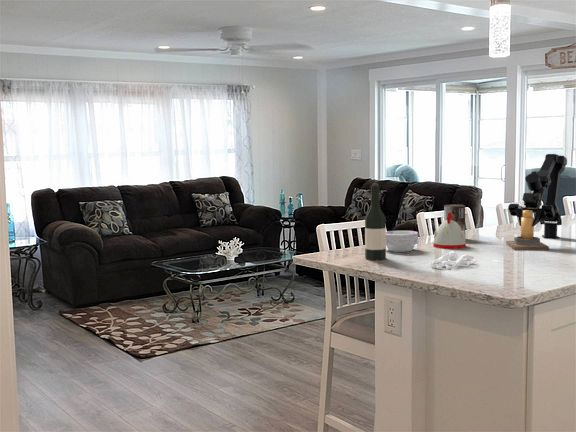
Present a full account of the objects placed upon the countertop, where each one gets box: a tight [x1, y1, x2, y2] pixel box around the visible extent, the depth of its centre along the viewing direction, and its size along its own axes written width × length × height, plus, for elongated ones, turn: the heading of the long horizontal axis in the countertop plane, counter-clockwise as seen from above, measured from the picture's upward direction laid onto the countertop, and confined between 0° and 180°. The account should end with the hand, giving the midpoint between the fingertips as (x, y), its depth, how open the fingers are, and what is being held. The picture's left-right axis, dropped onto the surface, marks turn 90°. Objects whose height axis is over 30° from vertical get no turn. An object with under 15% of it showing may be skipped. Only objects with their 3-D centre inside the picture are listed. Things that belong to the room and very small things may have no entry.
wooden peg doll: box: [520, 210, 535, 239], centre depth 289 cm, size 5×5×13 cm
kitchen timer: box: [432, 213, 467, 250], centre depth 296 cm, size 14×14×15 cm
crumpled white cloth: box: [428, 251, 477, 271], centre depth 251 cm, size 19×14×4 cm
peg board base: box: [505, 235, 550, 251], centre depth 290 cm, size 16×14×4 cm
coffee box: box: [443, 204, 466, 235], centre depth 316 cm, size 9×6×16 cm
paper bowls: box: [386, 230, 419, 253], centre depth 288 cm, size 15×15×8 cm
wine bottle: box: [364, 183, 387, 261], centre depth 268 cm, size 8×8×30 cm
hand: (526, 225), depth 288 cm, fingers closed on wooden peg doll, 5 cm apart
